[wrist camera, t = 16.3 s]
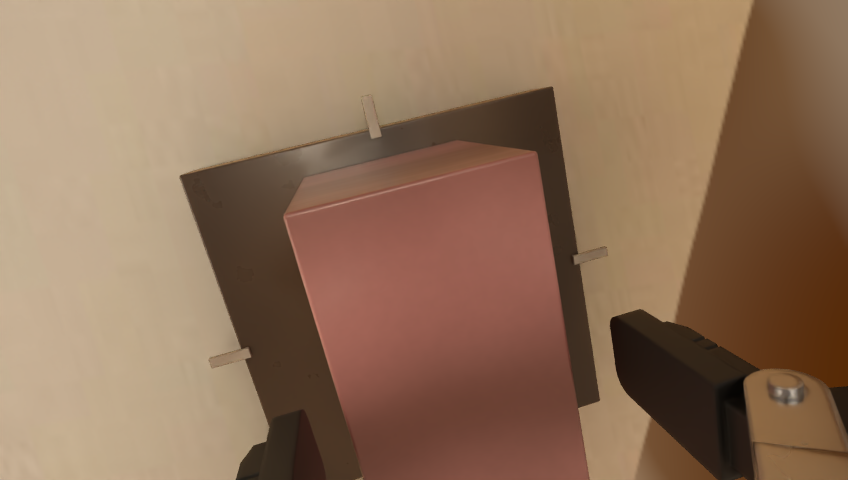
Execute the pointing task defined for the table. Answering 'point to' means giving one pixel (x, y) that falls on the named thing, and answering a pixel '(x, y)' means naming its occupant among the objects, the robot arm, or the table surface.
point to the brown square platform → (280, 277)
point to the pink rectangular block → (442, 314)
